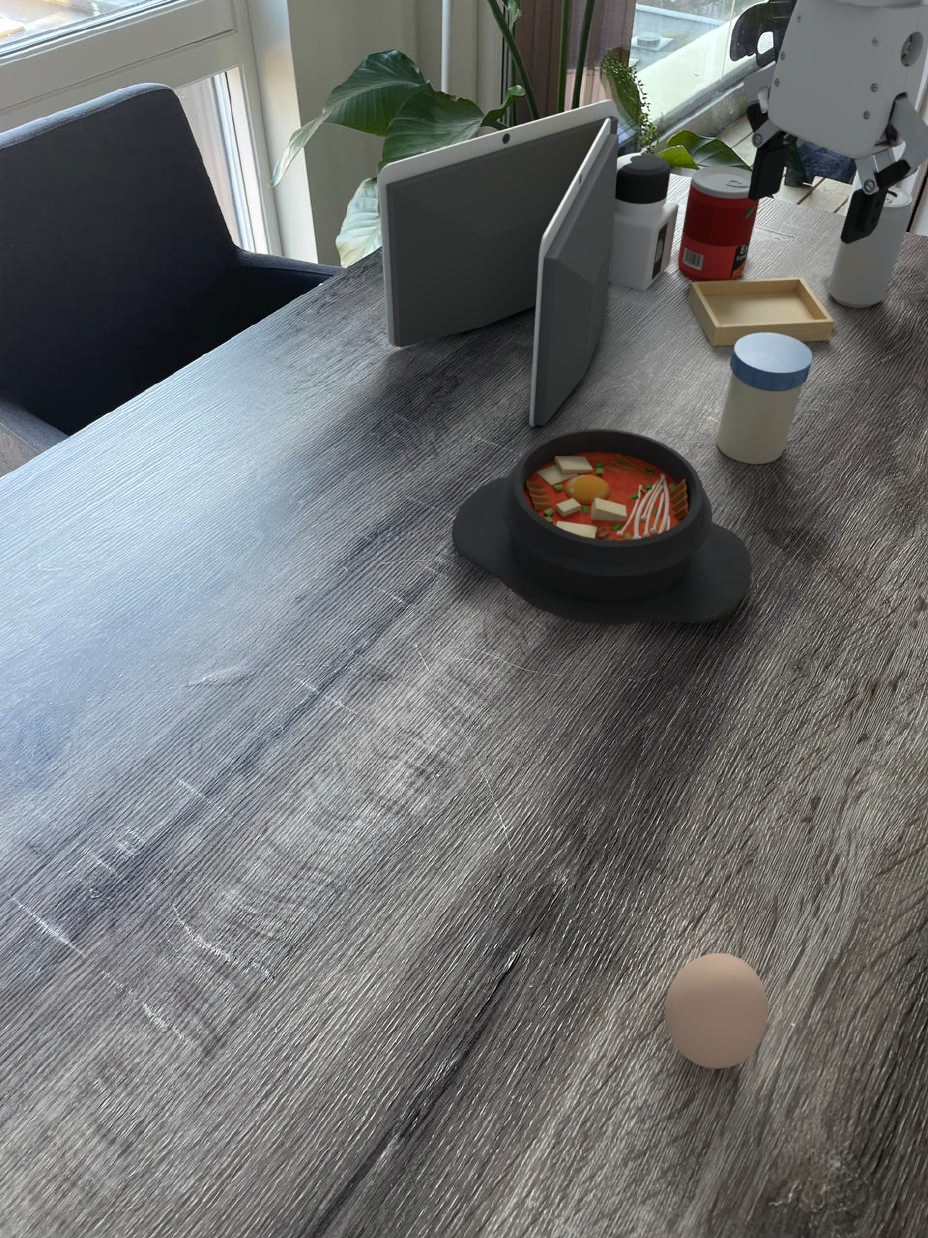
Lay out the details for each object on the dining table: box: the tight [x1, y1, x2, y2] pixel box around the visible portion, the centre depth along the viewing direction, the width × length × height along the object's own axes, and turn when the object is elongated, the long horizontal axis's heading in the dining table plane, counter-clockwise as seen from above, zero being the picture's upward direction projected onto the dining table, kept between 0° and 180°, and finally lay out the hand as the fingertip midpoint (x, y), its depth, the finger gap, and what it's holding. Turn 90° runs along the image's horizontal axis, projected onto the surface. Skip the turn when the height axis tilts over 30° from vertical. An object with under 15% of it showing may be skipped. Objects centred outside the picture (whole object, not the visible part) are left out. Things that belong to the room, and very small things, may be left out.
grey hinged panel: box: [377, 99, 620, 428], centre depth 103 cm, size 35×22×20 cm, turn 165°
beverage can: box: [827, 186, 913, 309], centre depth 112 cm, size 6×6×12 cm
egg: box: [664, 952, 769, 1070], centre depth 53 cm, size 5×5×8 cm
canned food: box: [677, 165, 761, 282], centre depth 117 cm, size 8×8×11 cm
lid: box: [729, 332, 814, 391], centre depth 90 cm, size 7×7×2 cm
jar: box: [715, 370, 804, 465], centre depth 93 cm, size 6×6×10 cm
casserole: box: [451, 428, 753, 626], centre depth 81 cm, size 25×19×8 cm
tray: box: [687, 276, 835, 347], centre depth 112 cm, size 13×10×2 cm
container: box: [608, 152, 680, 292], centre depth 115 cm, size 8×8×13 cm
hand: (807, 216), depth 80 cm, fingers open, 9 cm apart
